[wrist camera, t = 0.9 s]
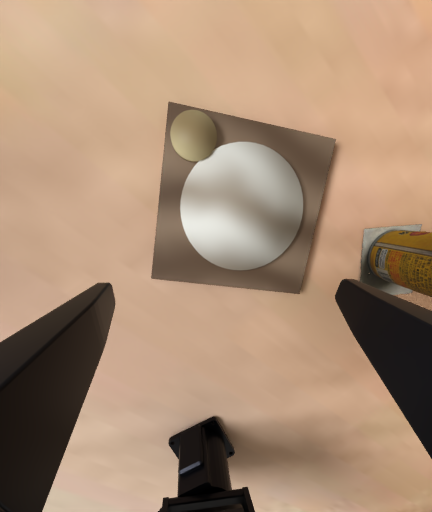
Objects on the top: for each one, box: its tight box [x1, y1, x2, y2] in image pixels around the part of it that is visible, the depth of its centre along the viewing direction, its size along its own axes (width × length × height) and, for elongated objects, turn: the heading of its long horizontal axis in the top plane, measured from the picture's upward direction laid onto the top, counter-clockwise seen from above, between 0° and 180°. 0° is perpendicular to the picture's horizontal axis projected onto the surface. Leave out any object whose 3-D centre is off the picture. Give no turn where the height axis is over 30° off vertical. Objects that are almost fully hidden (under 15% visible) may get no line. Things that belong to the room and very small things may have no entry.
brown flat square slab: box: [151, 102, 336, 294], centre depth 21 cm, size 16×16×2 cm
